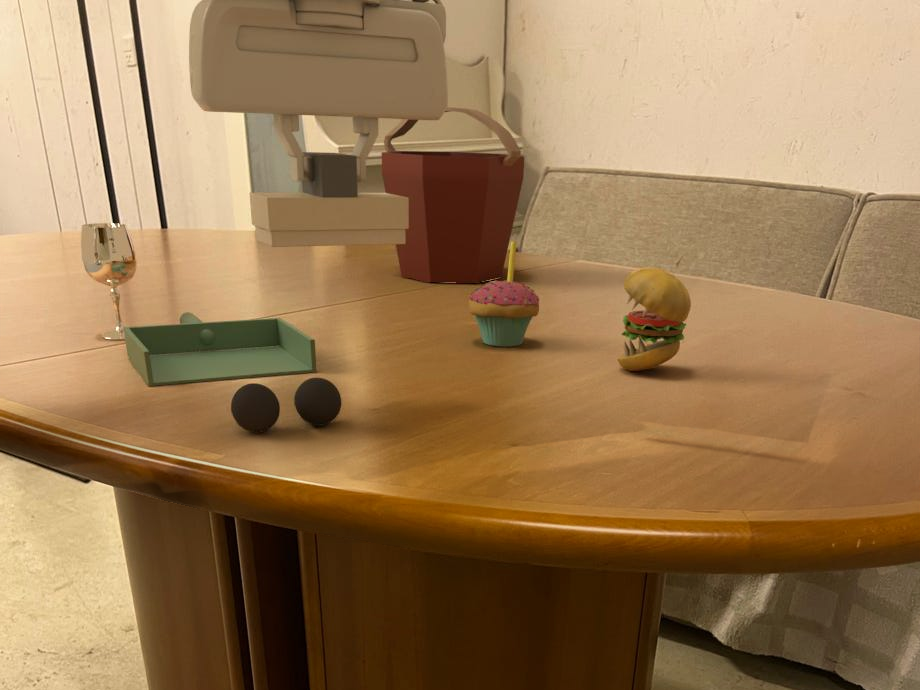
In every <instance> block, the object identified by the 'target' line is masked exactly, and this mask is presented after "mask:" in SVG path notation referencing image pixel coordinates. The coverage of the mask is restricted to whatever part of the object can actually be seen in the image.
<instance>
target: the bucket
mask: <svg viewBox="0 0 920 690" xmlns="http://www.w3.org/2000/svg"><path fill="white" fill-rule="evenodd" d="M450 112H455V113H456V112H457V113H462V114H466V115H467V116H470V117H471V118H474V119H475V120H476V121H478V122H480V123H482V124H483V125H485V126H486V127H487V128H488V129H489V130H491V131H492V132H493V133H494V134H495V135H496V136H497V137H498V139H499V141H500V142H501V144H502V145H503V147H504V148H505V150H506V152H507V153H492V152H469V151H447V150H445V151H444V150H443V151H441V150H440V151H439V150H438V151H435V150H433V151H432V150H431V151H430V150H396V148H395V147H394V145H393V144H392V140H394V139H396V138H399V137H403V136H405V135H406V134H407V133H408V132H409V131H410V130H412V128H413V127H414V126H415V125H416V124H417V122H418V121H419V120H409V119H401V120H400V122H398V124H396V125H395V126H394V128H392V129H391V130H390V131H389V132H388V133H387V134H386V135H385V136H384V140H383V145H384V150H385V151H382V152H381V177H382V181H383V186H384V191H385V192H384V193H388V194H393V195H398V196H403V197H408V198H409V229H405V244H395V249H396V253H397V257H398V258H397V259H398V264H399V270H400V275H401V277H402V276H403V277H407V278H406V279H408V278H412V279H411V280H413V279H416V280H415V281H417V280H420V281H419V282H422V281H425V282H424V283H427V282H456V283H478V282H482V281H486V280H490V279H495V278H499V277H501V278H502V277H503V273H504V267H505V264H506V258H507V254H508V250H509V245H510V242H511V236H512V231H513V227H514V222H515V218H516V214H517V208H518V204H519V199H520V194H521V191H522V186H523V181H524V173H525V156H523V155H522V153H521V152H522V151H521V149H520V146H519V145H518V143H517V141H516V140H515V138H514V137H513V135H512V133H511V132H510V131H509V130H508V129H507V128H505V126H503V125H502V124H501V123H499V122H498V121H497V120H495V119H493V118H492V117H490V116H488V115H487V114H485V113H483V112H481V111H479V110H477V109H471V108H464V107H448V106H447V109H446V110H445V112H444V113H450ZM403 277H402V278H403Z"/></svg>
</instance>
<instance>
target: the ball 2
mask: <svg viewBox="0 0 920 690" xmlns="http://www.w3.org/2000/svg"><path fill="white" fill-rule="evenodd" d="M293 399H294V407H295V411H296V412H297V414H298V415H299V417H300V418H301V419H302V420H303V421H305V422H306V423H308V424H309V425H313V426H326V425H328V424H330V423H332V422H333V421H334V420H336V418H337V417H338V416H339V414H340V412H341V409H342V396H341V393H340V391H339V389H338V387H337V386H336V385H335V384H334V383H333V382H331V381H330V380H328V379H326V378H323V377H311V378H308V379H306V380H304V381H303V382H301V383H300V384H299V386H298V387H297V389H296V391H295V394H294V398H293Z"/></svg>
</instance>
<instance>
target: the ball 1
mask: <svg viewBox="0 0 920 690" xmlns="http://www.w3.org/2000/svg"><path fill="white" fill-rule="evenodd" d="M230 412H231V415H232V417H233V419H234V421H235V422H236V424H237V425H238V426H239V427H240V428H242V429H243V430H245V431H247V432H249V433H264V432H267V431H269V430H271V428H273V427H274V426H275V424H277V422H278V421H279V418H280V414H281V405H280V401H279V399H278V397H277V395H276V393H275V392H274V391H273V390H272V389H271V388H269V387H268V386H266V385H265V384H262V383H257V382H256V383H255V382H254V383H253V382H252V383H247V384H244V385H242V386H241V387H239V388H238V389H237V390H236V391H235V392H234V394H233V395H232V397H231V402H230Z"/></svg>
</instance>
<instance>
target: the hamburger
mask: <svg viewBox="0 0 920 690" xmlns="http://www.w3.org/2000/svg"><path fill="white" fill-rule="evenodd" d="M682 258H683V255H682V254H681V255H680V257H679V259H678V260H677V261H676V263H675V269H674V271H673V274H672V273H670V272H668V271H666V270H664V269H661V268H657V267H654V266H653V267H652V266H645V267H640V268H637V269H635V270H633V271H632V272H631V273H629V274H628V275H627V276H626V278H625V279H624V283H623V288H624V290H625V292H626V293H627V295H628V298H627V305H628V304H629V303H630V302H631V301H632V300H633V301H634V303H633V306H632V308H631V311H630V312H628V315H627V314H625V315H623V317H622V322H623V325H624V331H622V333H621V336H623V337H625V338H626V339H629V340H628V344H627V342H626V341H625V340H624V342H623V347H624V348H623V352H624V354H622V355H619V356H618V357H617V362H618V364H619V366H620V367H621V368H622V369H624V370H626V371H631V372H637V371H638V372H639V371H644V370H648V369H652V368H655V367H658V366H660V365H663V364H664V363H666V362H668V361H670V360H671V359H672V358H674V357H675V356H676V355H677V354H678V352H679V351H680V347H681V341H684V339H685V336H684V334H683V333H684V329H685V328H686V326H687V323H684V322H685V321H686V320H687V319H688V317H689V314H690V311H691V305H692V302H691V297H690V293H689V291H688V289H687V288H686V286H685V285H684V283H683V282H682V281H681V280H680V279H679V278H677V277H676V276H674V274H675V272H677V271H676V270H677V269H678V267H679V264H680V262H681V260H682ZM638 305H641V306H642V307H644V310H634V309H635V308H636V307H637V306H638ZM637 339H638V347H637V348H636V346H635V345H634V343H633V341H635V340H637ZM661 339H662V340H661ZM644 342H645V343H648V342H652V343H649V344H646V345H645V343H644Z"/></svg>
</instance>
